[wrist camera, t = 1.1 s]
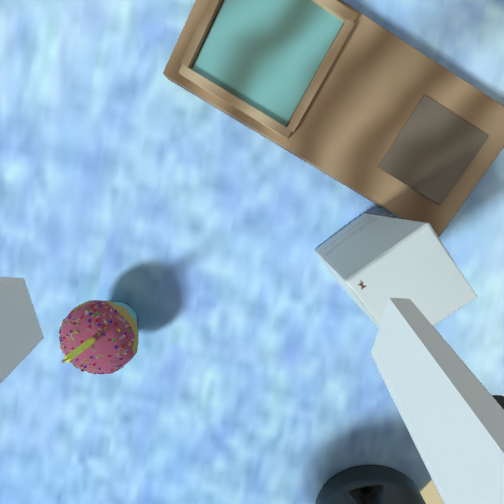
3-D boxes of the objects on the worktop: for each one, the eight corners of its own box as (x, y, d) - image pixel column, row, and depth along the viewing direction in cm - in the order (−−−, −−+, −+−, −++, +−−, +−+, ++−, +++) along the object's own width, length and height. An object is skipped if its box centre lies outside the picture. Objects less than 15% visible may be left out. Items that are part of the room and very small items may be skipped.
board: (510, 122, 30) (530, 117, 28) (429, 236, 33) (442, 239, 31) (230, -59, 28) (228, -82, 26) (167, 78, 30) (160, 69, 28)
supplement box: (348, 296, 35) (395, 353, 22) (312, 248, 34) (342, 280, 21) (400, 260, 34) (481, 299, 21) (365, 210, 33) (429, 219, 20)
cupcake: (104, 275, 35) (25, 315, 23) (165, 310, 36) (117, 366, 24) (76, 329, 37) (-12, 393, 25) (134, 362, 37) (75, 439, 26)
